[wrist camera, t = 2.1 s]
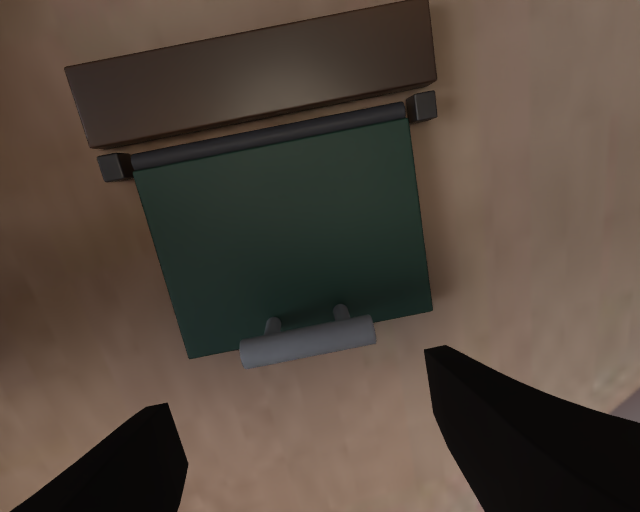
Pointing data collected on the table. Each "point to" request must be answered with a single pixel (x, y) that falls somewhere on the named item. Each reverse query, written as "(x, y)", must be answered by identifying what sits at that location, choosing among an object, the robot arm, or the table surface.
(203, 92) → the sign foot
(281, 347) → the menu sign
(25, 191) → the table surface
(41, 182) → the table surface
